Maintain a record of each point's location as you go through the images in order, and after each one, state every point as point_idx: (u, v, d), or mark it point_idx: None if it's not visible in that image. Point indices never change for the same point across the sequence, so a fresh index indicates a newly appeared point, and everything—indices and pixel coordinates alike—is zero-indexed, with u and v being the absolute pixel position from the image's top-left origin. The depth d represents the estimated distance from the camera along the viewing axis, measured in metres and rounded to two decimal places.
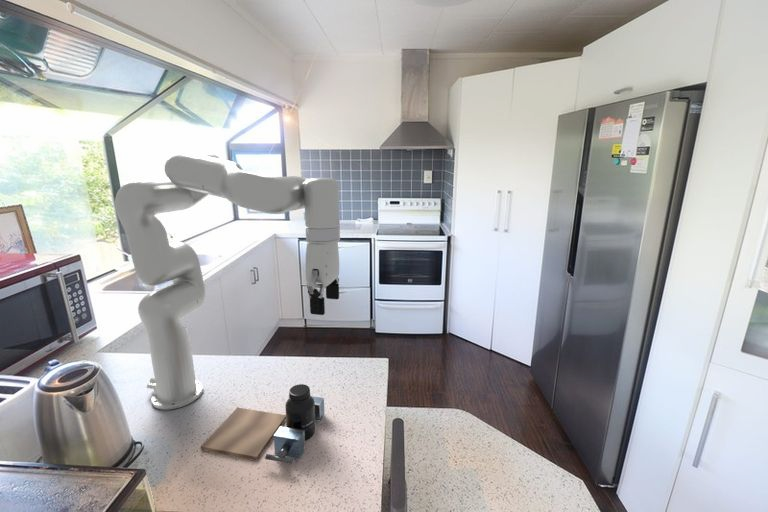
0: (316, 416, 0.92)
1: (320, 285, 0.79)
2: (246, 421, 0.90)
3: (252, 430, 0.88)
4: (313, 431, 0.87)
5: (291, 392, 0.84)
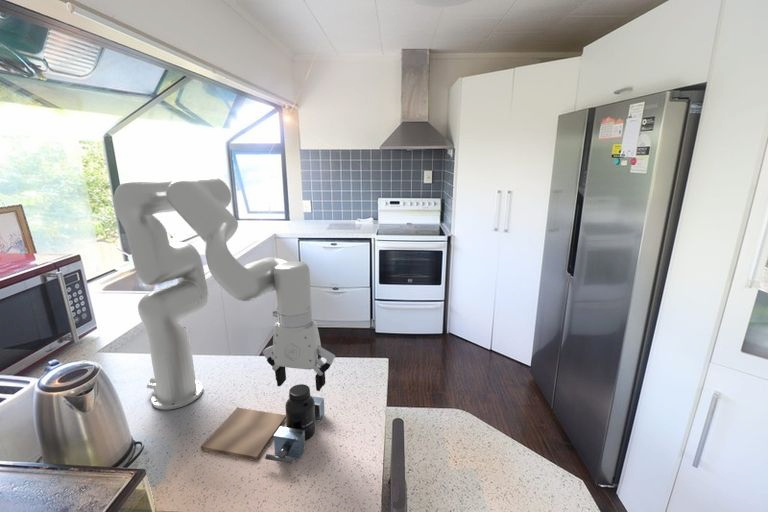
0: (316, 416, 0.92)
1: (318, 359, 0.83)
2: (246, 421, 0.90)
3: (252, 430, 0.88)
4: (313, 431, 0.87)
5: (291, 392, 0.84)
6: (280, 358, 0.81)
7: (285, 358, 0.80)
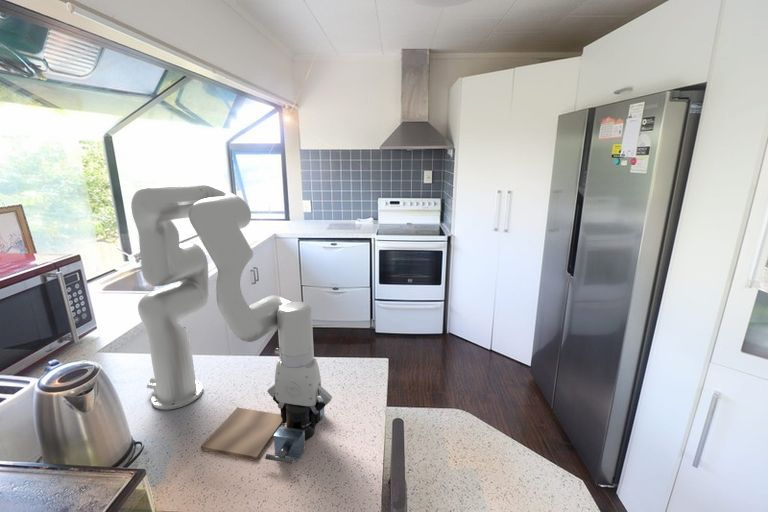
0: None
1: (316, 397, 0.86)
2: (246, 421, 0.90)
3: (252, 430, 0.88)
4: (313, 431, 0.87)
5: None
6: (281, 395, 0.83)
7: (286, 395, 0.83)
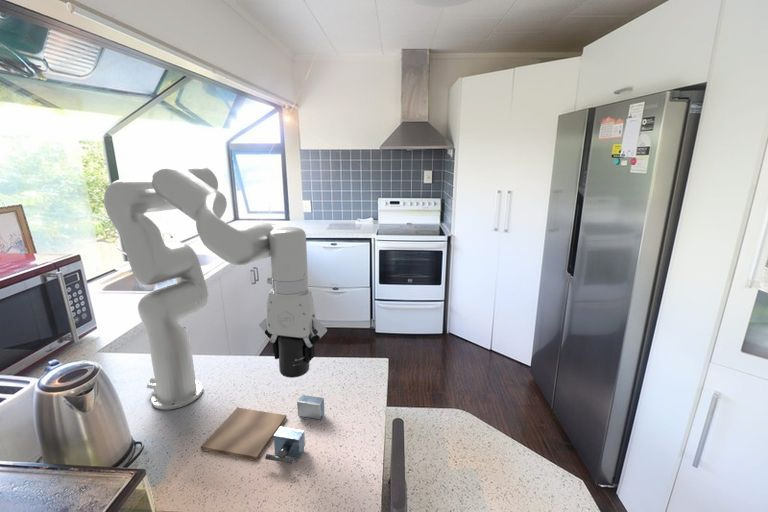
0: (316, 416, 0.92)
1: (310, 331, 0.81)
2: (246, 421, 0.90)
3: (252, 430, 0.88)
4: (307, 367, 0.83)
5: None
6: (273, 326, 0.79)
7: (279, 326, 0.79)
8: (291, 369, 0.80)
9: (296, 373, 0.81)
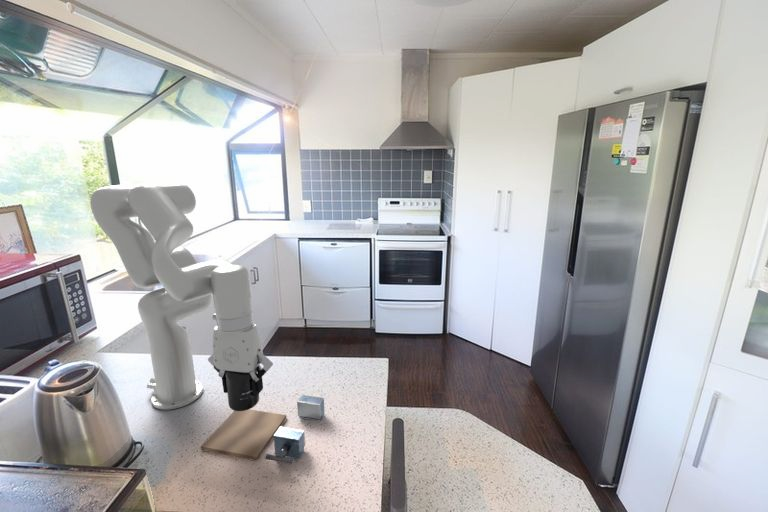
0: (316, 416, 0.92)
1: (257, 365, 0.83)
2: (246, 421, 0.90)
3: (252, 430, 0.88)
4: (255, 400, 0.84)
5: None
6: (220, 361, 0.81)
7: (224, 361, 0.80)
8: (238, 403, 0.82)
9: (244, 407, 0.82)
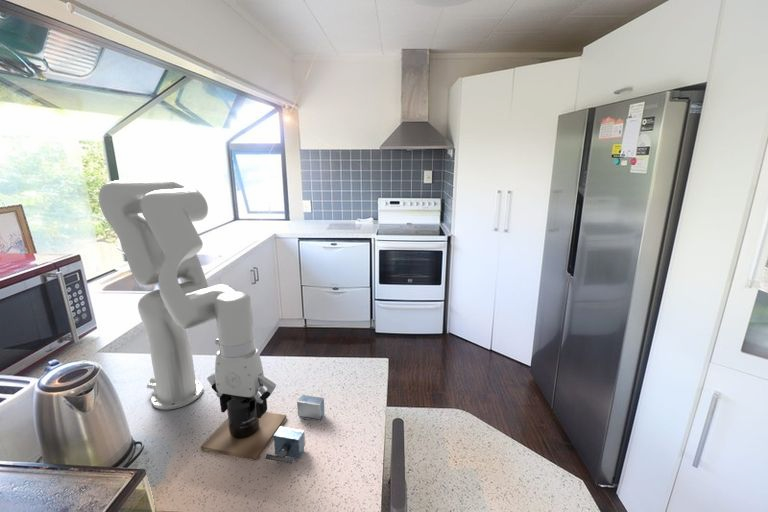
0: (316, 416, 0.92)
1: (260, 387, 0.85)
2: None
3: None
4: (256, 427, 0.86)
5: None
6: (222, 385, 0.82)
7: (226, 386, 0.82)
8: (238, 431, 0.84)
9: (244, 434, 0.84)
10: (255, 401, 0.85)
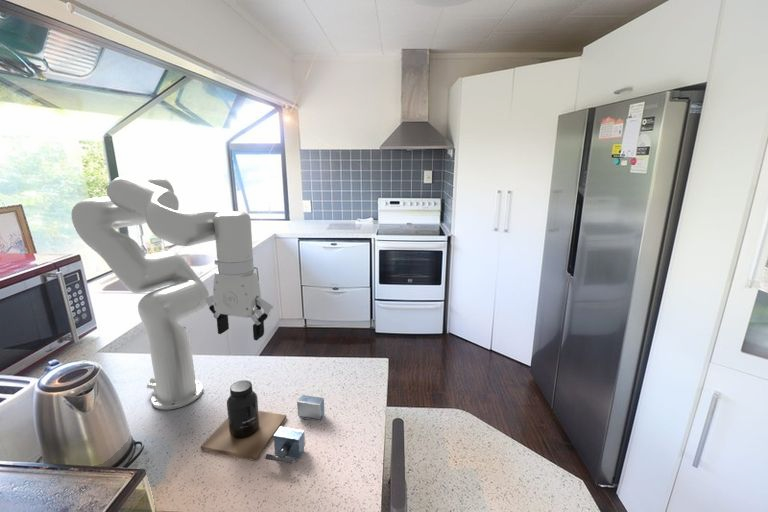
0: (316, 416, 0.92)
1: (258, 310, 0.85)
2: None
3: None
4: (256, 427, 0.86)
5: (232, 388, 0.84)
6: (219, 305, 0.83)
7: (224, 305, 0.82)
8: (239, 431, 0.84)
9: (244, 434, 0.84)
10: (255, 401, 0.85)
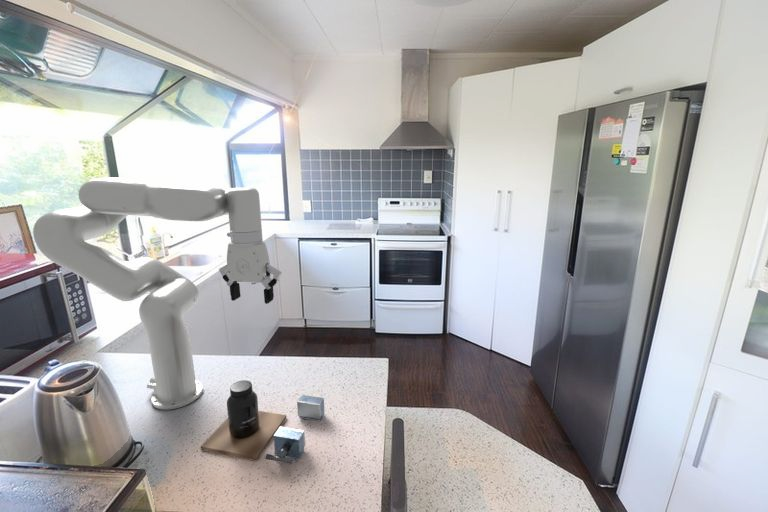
0: (316, 416, 0.92)
1: (267, 276, 0.94)
2: None
3: None
4: (256, 427, 0.86)
5: (232, 388, 0.84)
6: (233, 273, 0.92)
7: (237, 272, 0.92)
8: (239, 431, 0.84)
9: (244, 434, 0.84)
10: (255, 401, 0.85)
